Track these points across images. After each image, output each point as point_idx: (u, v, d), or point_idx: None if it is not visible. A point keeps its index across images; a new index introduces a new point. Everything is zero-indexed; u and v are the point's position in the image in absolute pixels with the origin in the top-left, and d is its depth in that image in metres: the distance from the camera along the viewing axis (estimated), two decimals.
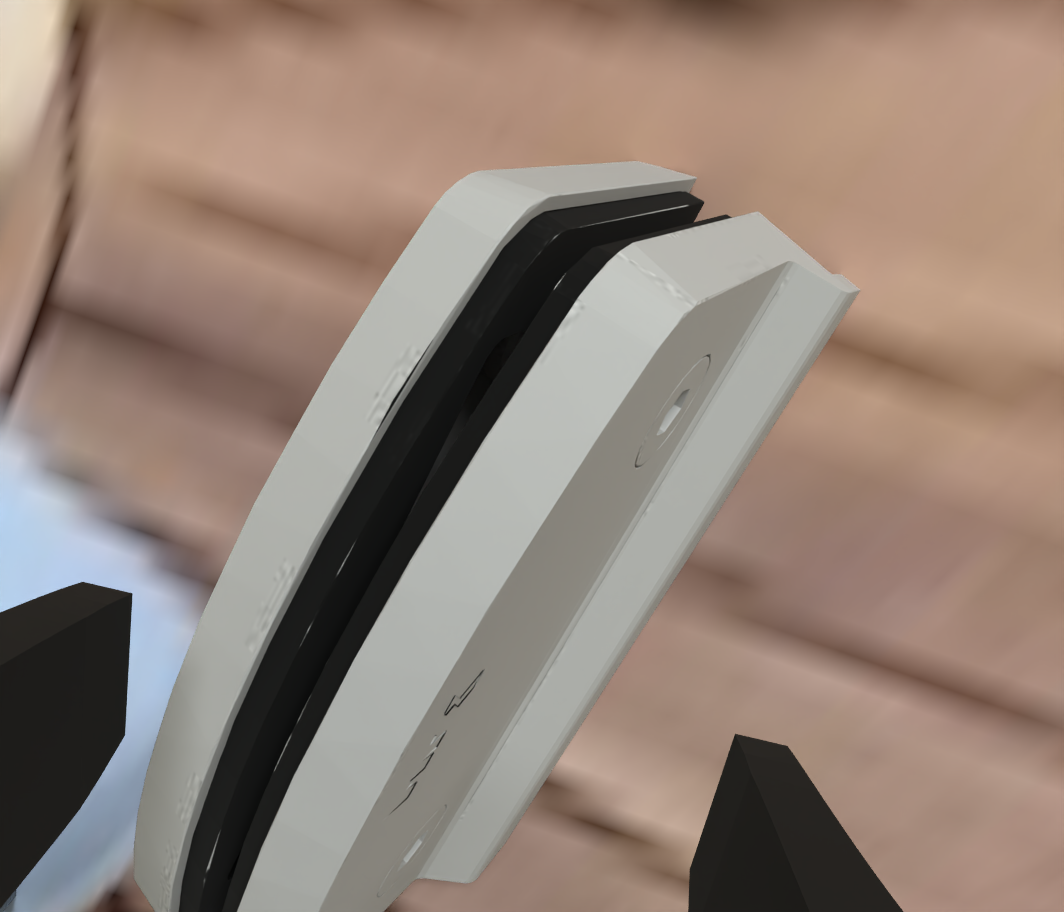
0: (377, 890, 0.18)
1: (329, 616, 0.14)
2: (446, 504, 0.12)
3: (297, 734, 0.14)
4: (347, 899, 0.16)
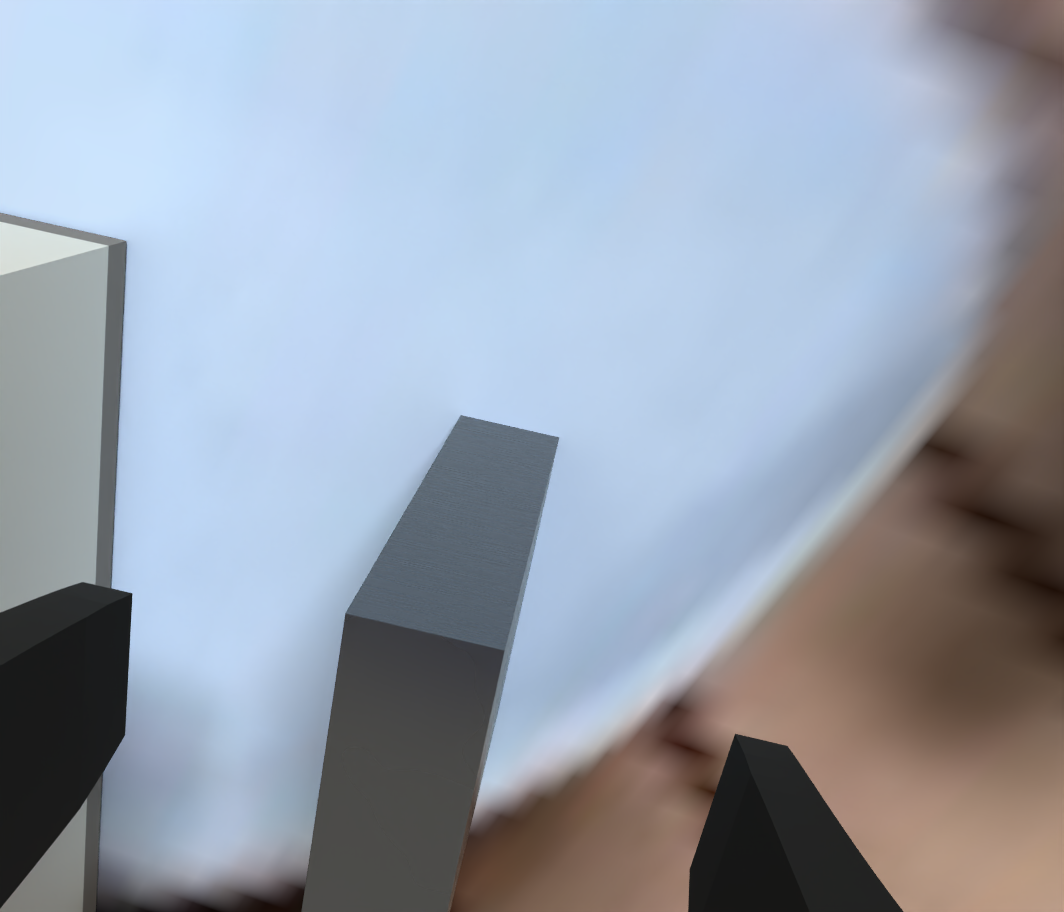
0: None
1: None
2: None
3: None
4: None
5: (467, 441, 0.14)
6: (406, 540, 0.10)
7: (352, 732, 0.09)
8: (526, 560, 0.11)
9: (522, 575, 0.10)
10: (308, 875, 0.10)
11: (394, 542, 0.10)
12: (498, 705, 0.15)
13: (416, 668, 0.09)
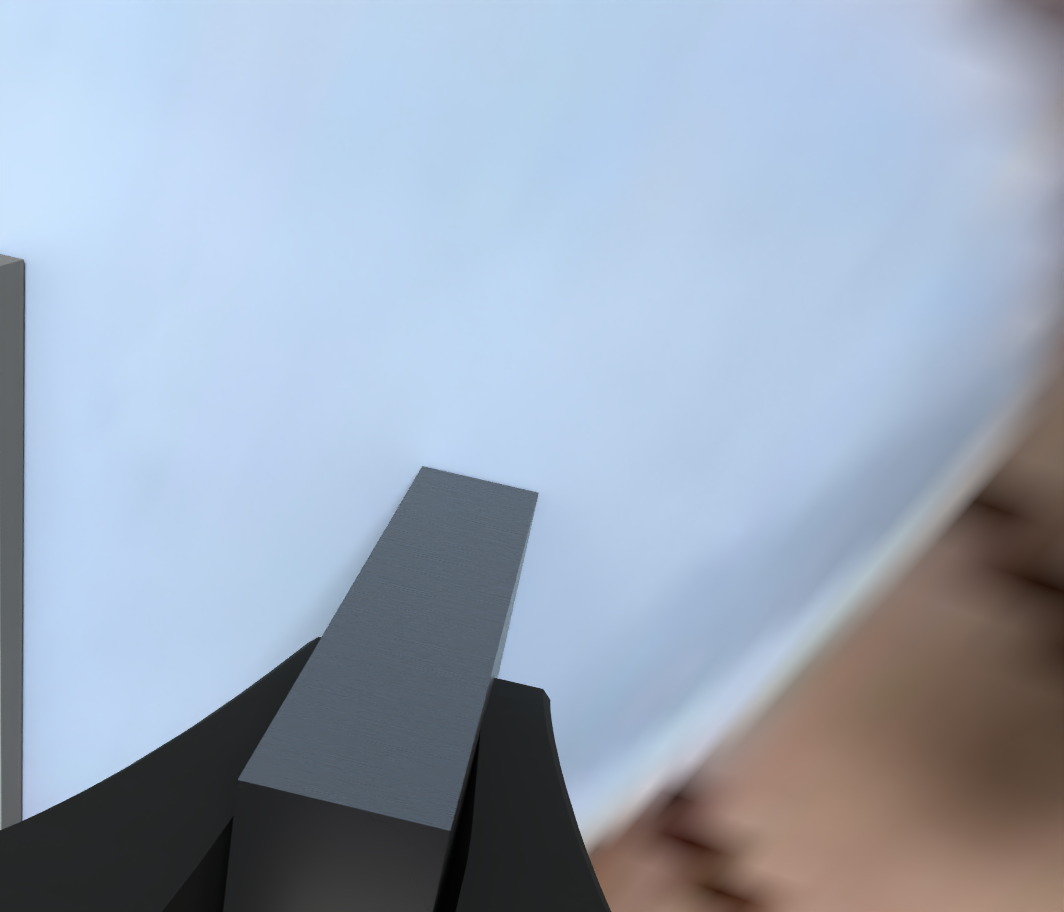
0: None
1: None
2: None
3: None
4: None
5: (426, 503, 0.11)
6: (335, 654, 0.08)
7: None
8: (488, 677, 0.08)
9: (482, 701, 0.08)
10: None
11: (319, 657, 0.08)
12: None
13: (334, 849, 0.07)
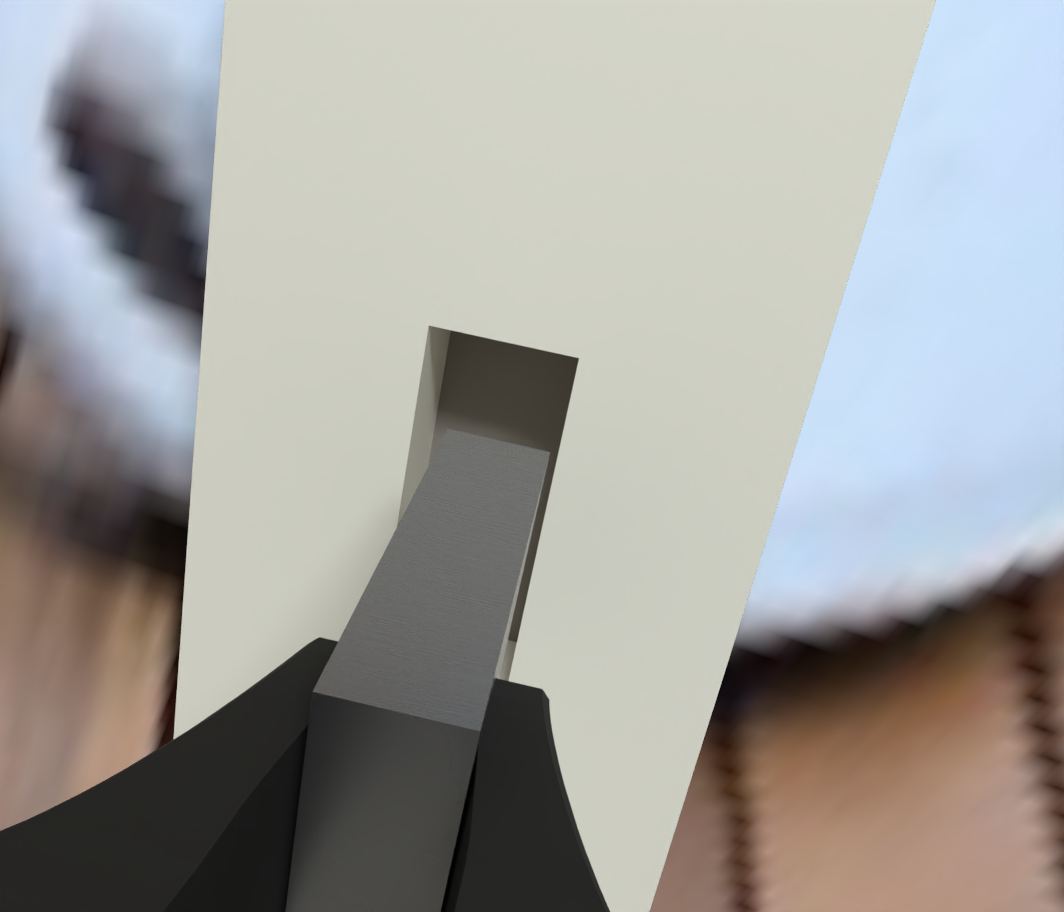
0: None
1: None
2: None
3: None
4: None
5: (452, 462, 0.13)
6: (382, 593, 0.10)
7: (324, 805, 0.09)
8: (508, 612, 0.10)
9: (503, 632, 0.10)
10: None
11: (369, 596, 0.10)
12: None
13: (388, 746, 0.09)
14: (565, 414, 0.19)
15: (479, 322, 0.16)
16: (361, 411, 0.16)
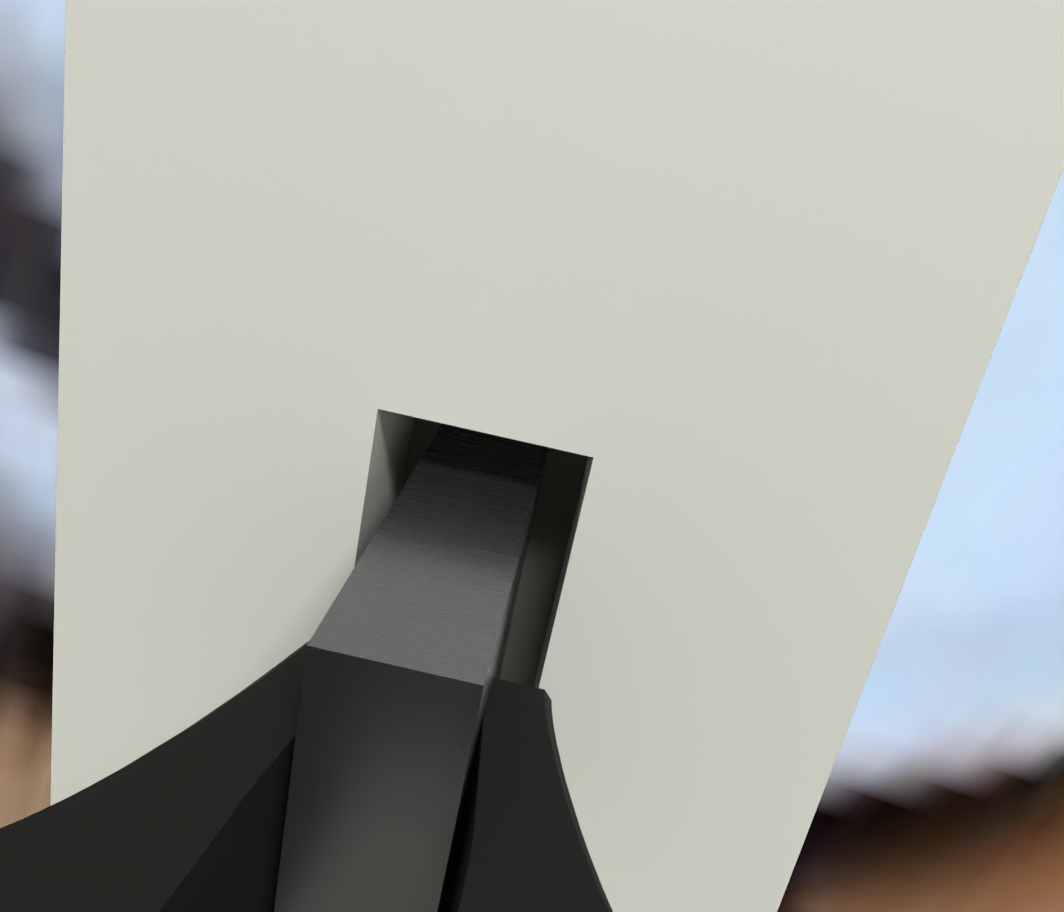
0: None
1: None
2: None
3: None
4: None
5: (451, 448, 0.13)
6: (379, 559, 0.10)
7: (317, 774, 0.08)
8: (511, 579, 0.10)
9: (506, 597, 0.09)
10: None
11: (366, 561, 0.10)
12: None
13: (386, 705, 0.08)
14: (571, 511, 0.14)
15: (450, 405, 0.11)
16: (285, 525, 0.12)
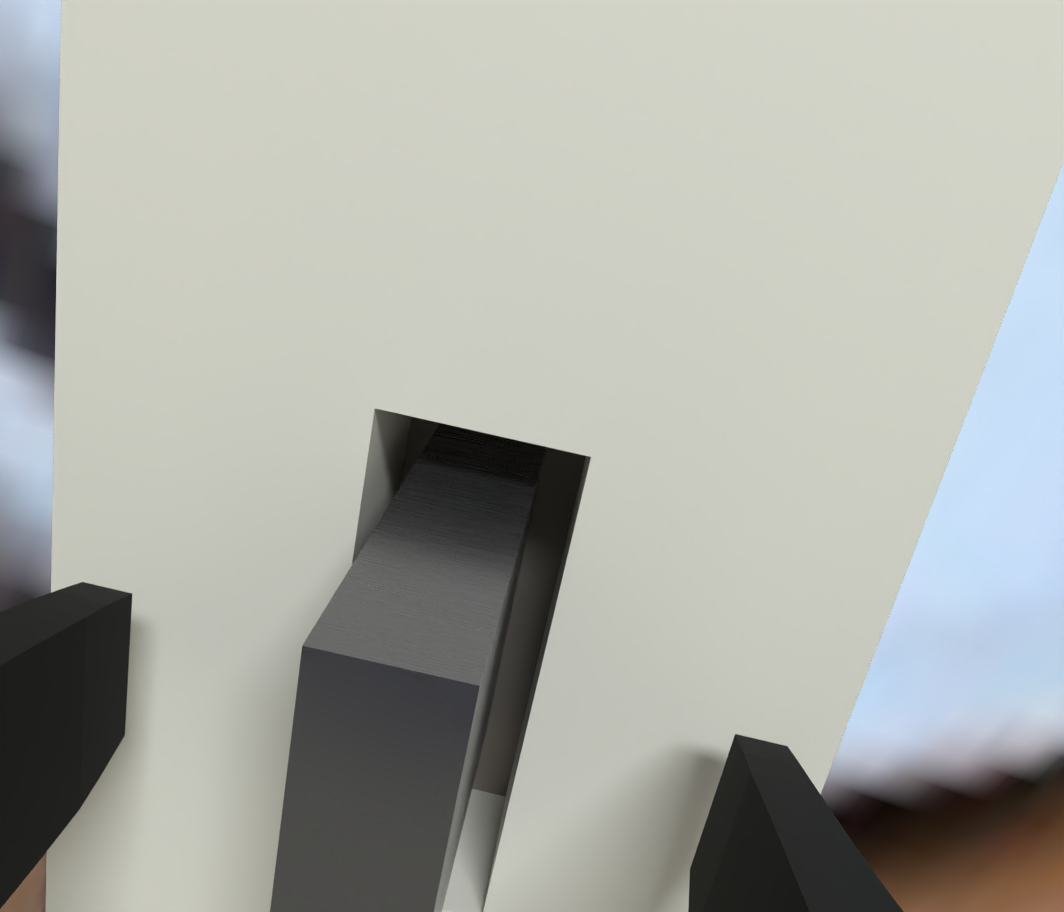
0: None
1: None
2: None
3: None
4: None
5: (448, 447, 0.13)
6: (375, 559, 0.10)
7: (313, 775, 0.08)
8: (507, 579, 0.10)
9: (502, 597, 0.09)
10: None
11: (362, 561, 0.09)
12: (485, 727, 0.14)
13: (383, 706, 0.08)
14: (569, 511, 0.14)
15: (447, 405, 0.11)
16: (282, 525, 0.12)
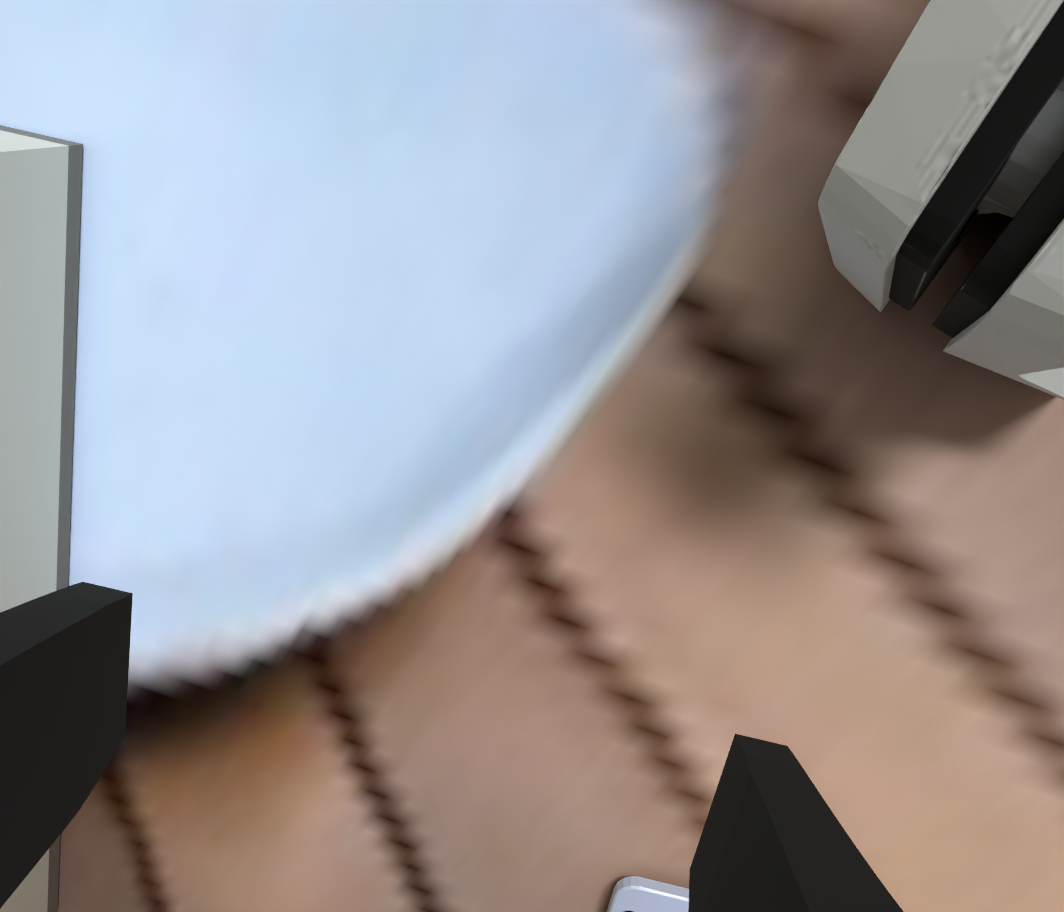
0: None
1: None
2: None
3: None
4: None
5: None
6: None
7: None
8: None
9: None
10: None
11: None
12: None
13: None
14: None
15: None
16: None
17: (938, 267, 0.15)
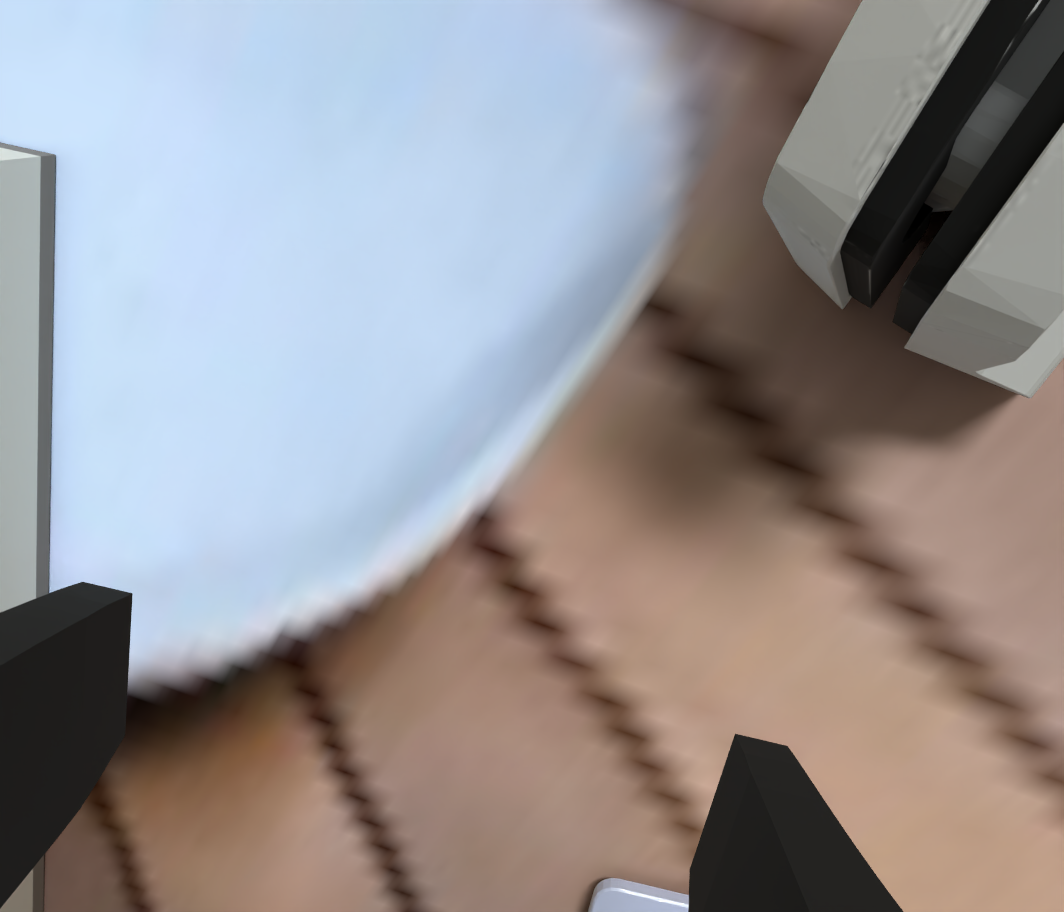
0: None
1: None
2: None
3: None
4: None
5: None
6: None
7: None
8: None
9: None
10: None
11: None
12: None
13: None
14: None
15: None
16: None
17: (893, 264, 0.16)
